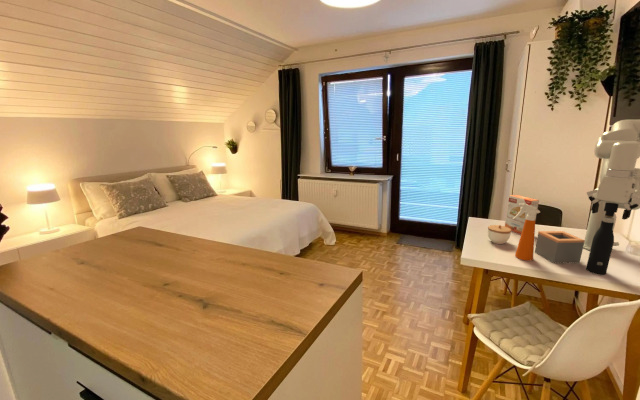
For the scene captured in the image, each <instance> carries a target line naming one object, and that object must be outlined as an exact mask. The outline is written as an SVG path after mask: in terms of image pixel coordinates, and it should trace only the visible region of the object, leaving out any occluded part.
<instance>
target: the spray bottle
mask: <svg viewBox="0 0 640 400" xmlns="http://www.w3.org/2000/svg"><path fill="white" fill-rule="evenodd" d="M519 206H521V208H520V209H521V210H520V212H519V213H518V214H517V215H516V216H515V217H514V218H513V219H515V218H518V217H519V216H521V215H522V214H524V213H525V212H528V214H527V215H526V220H525V223H524V227H523V230H522V234H520V238H519V241H518V244H517V247H516V251H515V254H514V255H515V258H517V259H519V260H522V261H533V260H534V253H535V233H536V220H537V215H536V216H535V214H536V213H537V214H539V213H541V211H540V210H539V208H538V209H536V208H534V207H532V206H530V205H527V204H524V203H523V204H522V203H519ZM524 210H526V211H524ZM535 219H536V220H535Z"/></svg>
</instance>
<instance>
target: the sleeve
mask: <svg viewBox="0 0 640 400" xmlns="http://www.w3.org/2000/svg"><path fill="white" fill-rule="evenodd" d="M584 242H585V239H583V238H580V237H578V236H575V235H573V234H571V233H569V232H566V231H564V230H550V231H549V230H543V231H542V230H540V231H539V230H538V232H537V238H536V242H535V243H536V244H535V247H534V253H535V254H537V255H538V256H541V257H542V258H544V259H545V260H547V261H549V262H551V263H552V264H580V263H581V258H582V254H583V250H584V248H583V246H584Z"/></svg>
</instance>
